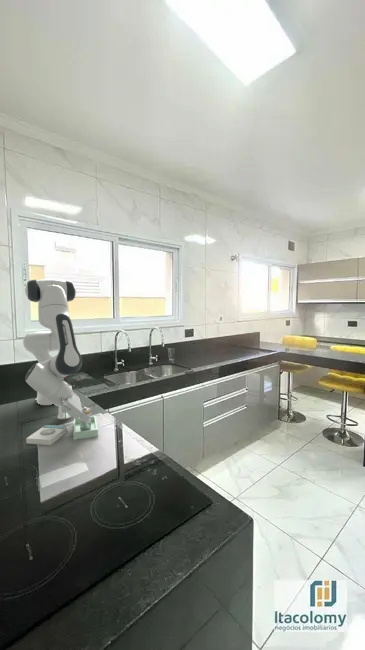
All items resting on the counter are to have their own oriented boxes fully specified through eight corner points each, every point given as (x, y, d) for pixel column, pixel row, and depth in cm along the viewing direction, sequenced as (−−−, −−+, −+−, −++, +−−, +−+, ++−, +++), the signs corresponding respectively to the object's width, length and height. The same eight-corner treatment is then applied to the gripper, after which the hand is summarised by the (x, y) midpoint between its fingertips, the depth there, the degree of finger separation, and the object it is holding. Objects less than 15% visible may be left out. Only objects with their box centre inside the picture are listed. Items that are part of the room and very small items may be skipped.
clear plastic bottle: (66, 420, 128) (66, 388, 127) (53, 419, 129) (52, 387, 128) (75, 415, 135) (75, 384, 134) (62, 413, 136) (62, 383, 135)
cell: (83, 427, 119) (82, 405, 119) (93, 428, 119) (92, 406, 118) (78, 432, 115) (77, 409, 114) (88, 433, 114) (88, 409, 114)
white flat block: (45, 429, 118) (45, 424, 118) (67, 431, 117) (67, 425, 117) (26, 443, 106) (26, 437, 106) (50, 445, 105) (50, 439, 105)
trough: (74, 424, 124) (73, 418, 124) (95, 421, 127) (95, 415, 127) (73, 439, 110) (73, 432, 109) (97, 436, 113) (97, 429, 113)
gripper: (67, 396, 105) (94, 418, 110) (66, 383, 124) (89, 401, 128) (55, 409, 103) (83, 430, 108) (55, 393, 122) (79, 412, 127)
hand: (86, 414), depth 118 cm, fingers open, 8 cm apart
